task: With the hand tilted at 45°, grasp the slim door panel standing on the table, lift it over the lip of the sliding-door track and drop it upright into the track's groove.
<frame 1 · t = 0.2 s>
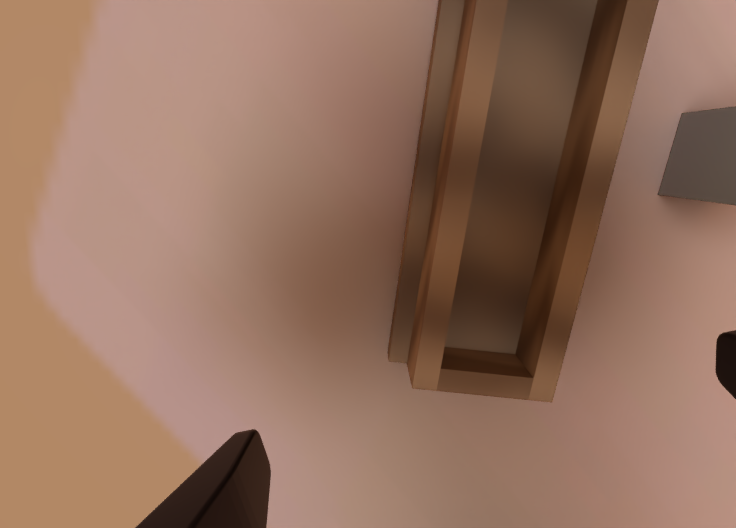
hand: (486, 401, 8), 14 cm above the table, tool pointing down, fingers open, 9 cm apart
door track: (500, 184, 21), on the table
door panel: (698, 158, 21), on the table
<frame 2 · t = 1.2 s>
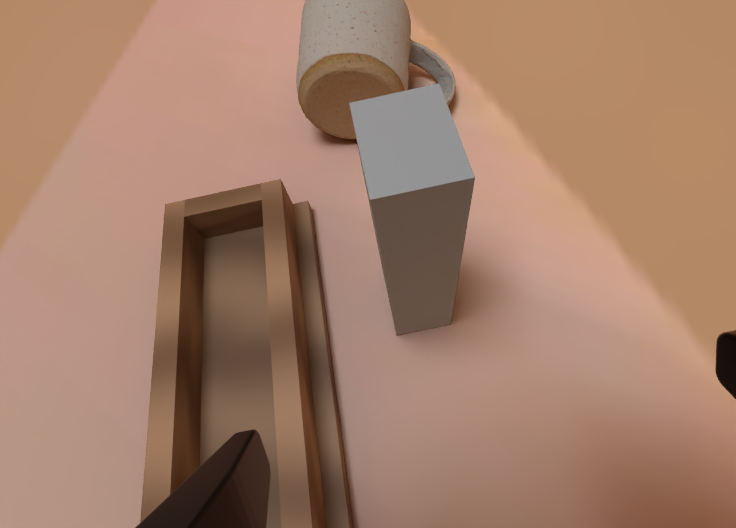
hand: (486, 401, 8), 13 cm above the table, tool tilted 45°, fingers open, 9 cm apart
door track: (250, 374, 23), on the table
door panel: (415, 296, 24), on the table
ceramic mug: (379, 104, 31), on the table
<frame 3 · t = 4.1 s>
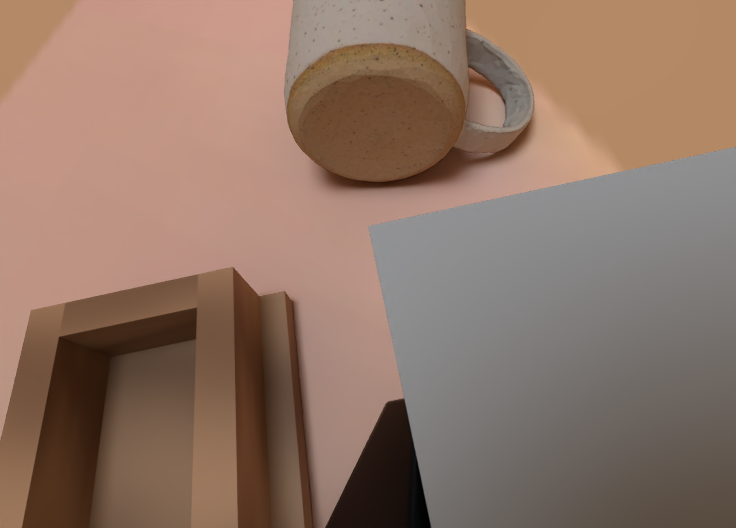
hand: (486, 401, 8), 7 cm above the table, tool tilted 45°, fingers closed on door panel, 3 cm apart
door panel: (473, 481, 13), on the table, touching gripper
ceramic mug: (411, 125, 21), on the table
when the fingers open (9 cm above the table, at t = 7.4 s): door panel drops 1 cm, resting on door track.
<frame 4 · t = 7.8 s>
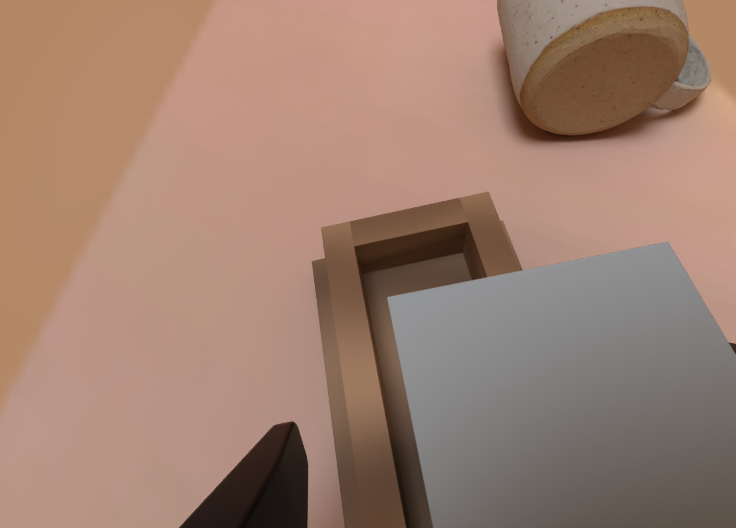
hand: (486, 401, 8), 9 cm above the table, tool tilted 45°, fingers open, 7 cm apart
door track: (466, 481, 15), on the table
door panel: (468, 480, 14), point 1 cm above the table, touching door track
ceramic mug: (584, 90, 24), on the table
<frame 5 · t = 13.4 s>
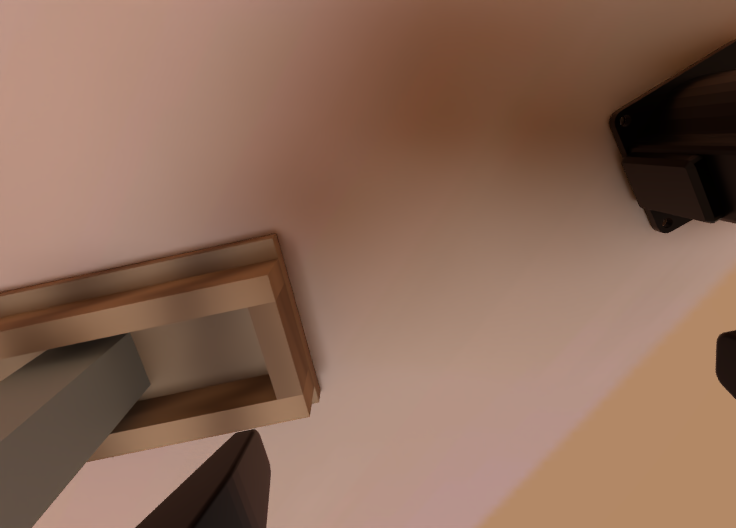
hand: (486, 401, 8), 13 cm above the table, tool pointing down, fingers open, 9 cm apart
door track: (112, 356, 22), on the table
door panel: (101, 366, 21), point 1 cm above the table, touching door track
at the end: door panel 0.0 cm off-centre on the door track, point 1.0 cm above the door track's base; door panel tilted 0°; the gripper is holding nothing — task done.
